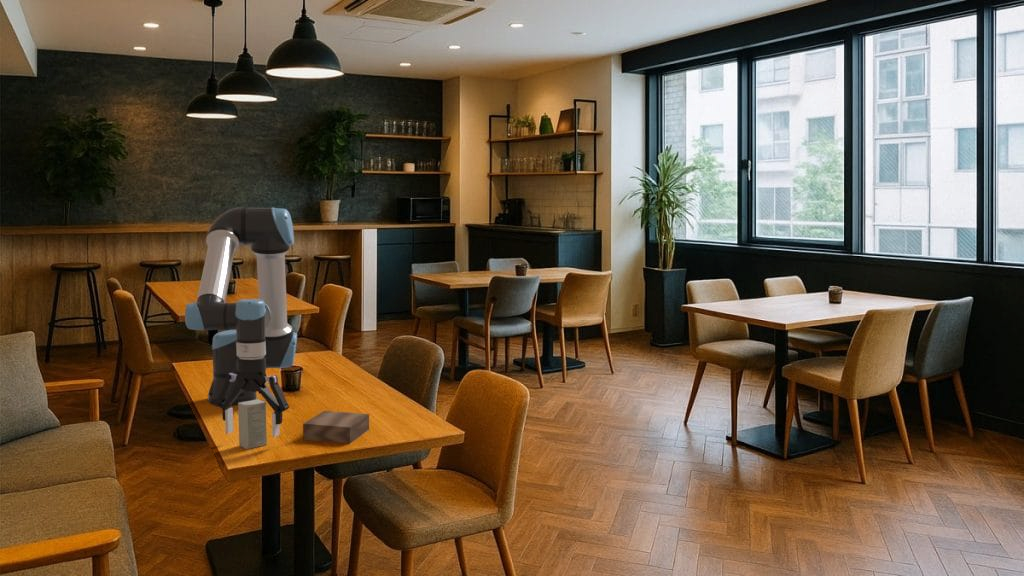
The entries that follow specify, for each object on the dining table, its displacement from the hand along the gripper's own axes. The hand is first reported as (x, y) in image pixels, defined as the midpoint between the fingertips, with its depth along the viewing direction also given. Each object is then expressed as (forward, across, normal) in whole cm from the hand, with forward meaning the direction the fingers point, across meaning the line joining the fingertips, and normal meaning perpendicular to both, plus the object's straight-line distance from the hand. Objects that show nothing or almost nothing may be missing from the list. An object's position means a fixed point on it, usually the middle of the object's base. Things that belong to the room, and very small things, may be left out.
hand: (252, 434), depth 218 cm
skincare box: (+4, 0, 0) cm, 4 cm away
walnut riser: (+4, +18, +15) cm, 24 cm away
